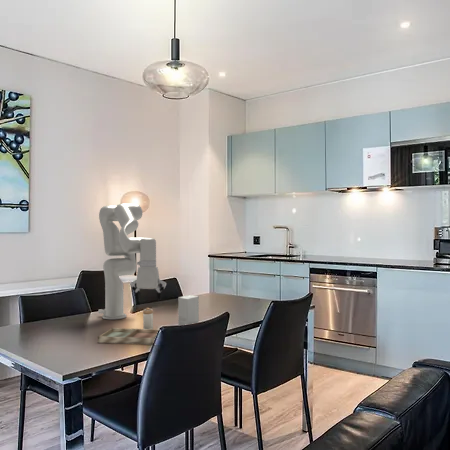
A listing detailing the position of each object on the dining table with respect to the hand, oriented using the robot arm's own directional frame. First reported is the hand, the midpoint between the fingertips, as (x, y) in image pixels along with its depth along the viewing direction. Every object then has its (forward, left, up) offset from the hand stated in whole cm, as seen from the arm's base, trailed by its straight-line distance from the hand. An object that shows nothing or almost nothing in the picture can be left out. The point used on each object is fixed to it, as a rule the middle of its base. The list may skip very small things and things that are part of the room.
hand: (148, 300), depth 216 cm
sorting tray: (-3, -15, -14) cm, 21 cm away
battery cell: (0, 0, -14) cm, 14 cm away
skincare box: (+18, +7, -15) cm, 24 cm away
